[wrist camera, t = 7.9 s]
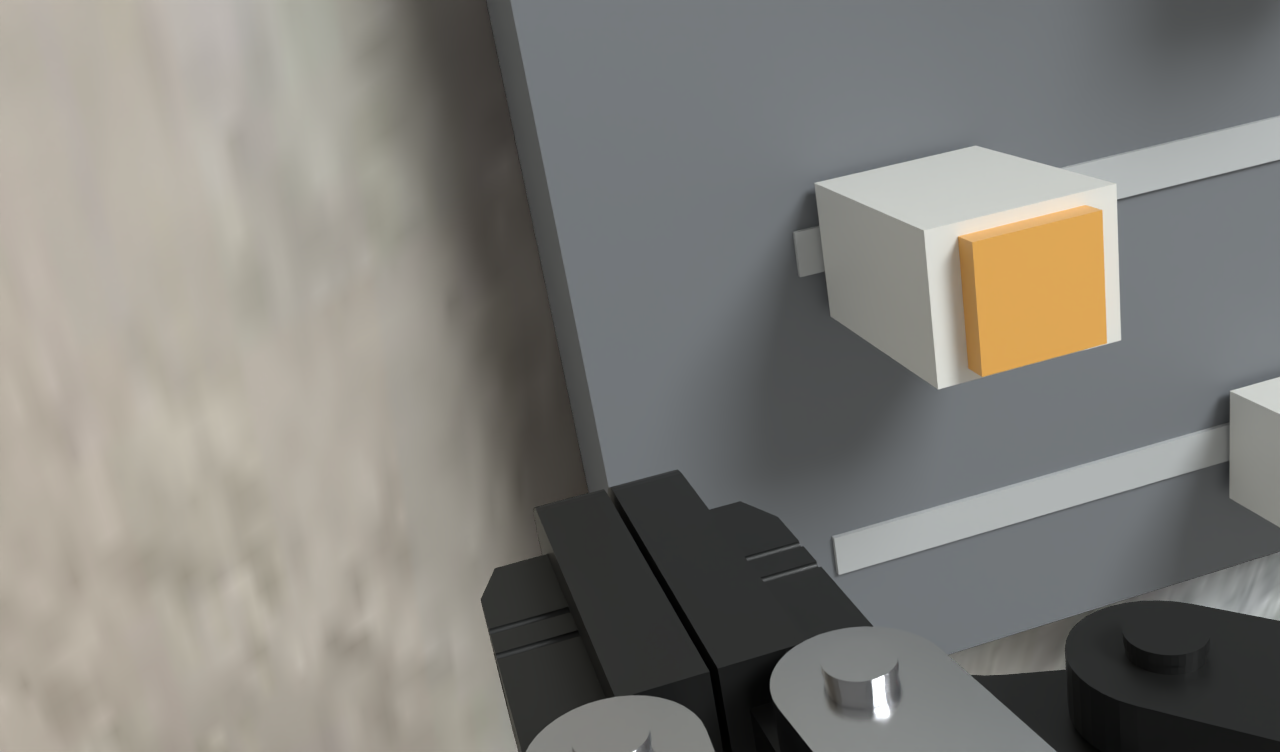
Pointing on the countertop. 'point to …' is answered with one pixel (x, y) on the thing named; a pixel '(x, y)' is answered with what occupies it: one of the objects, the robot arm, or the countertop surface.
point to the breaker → (1256, 448)
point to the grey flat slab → (845, 362)
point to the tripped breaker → (972, 262)
